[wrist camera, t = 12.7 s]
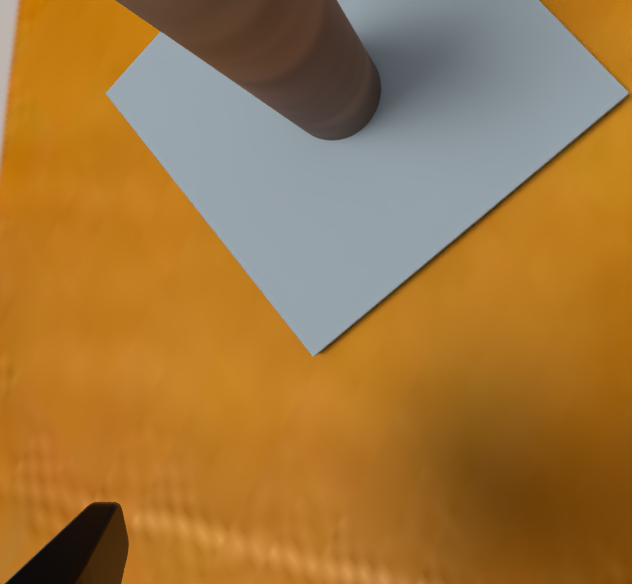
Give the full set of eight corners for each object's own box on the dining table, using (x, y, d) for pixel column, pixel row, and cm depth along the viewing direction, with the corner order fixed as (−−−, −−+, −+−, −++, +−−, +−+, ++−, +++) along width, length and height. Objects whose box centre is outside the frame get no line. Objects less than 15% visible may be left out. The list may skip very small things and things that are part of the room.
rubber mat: (624, 98, 17) (629, 92, 16) (317, 353, 20) (312, 356, 19) (360, -174, 18) (355, -188, 18) (115, 97, 21) (105, 93, 21)
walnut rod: (397, 64, 18) (187, -383, 5) (355, 155, 18) (75, -60, 6) (313, 30, 19) (-45, -437, 6) (275, 119, 19) (-127, -143, 7)
